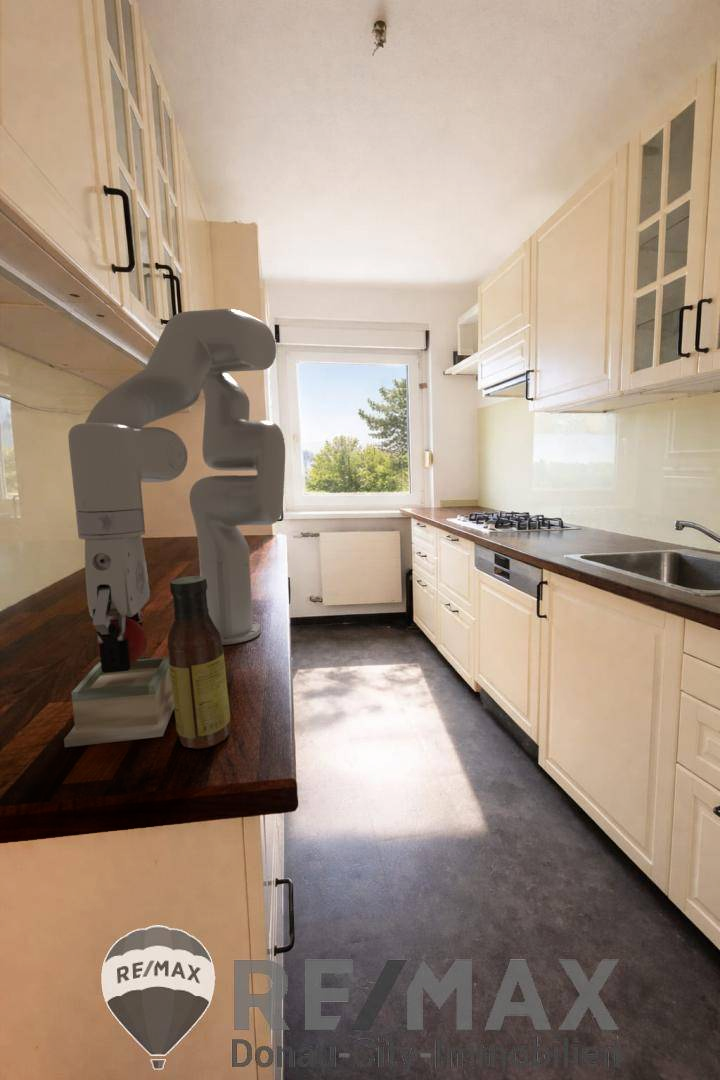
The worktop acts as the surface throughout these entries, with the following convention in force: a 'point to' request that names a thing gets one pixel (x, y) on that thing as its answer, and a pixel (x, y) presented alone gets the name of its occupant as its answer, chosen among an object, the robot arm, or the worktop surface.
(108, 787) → the worktop surface
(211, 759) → the worktop surface
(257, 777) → the worktop surface
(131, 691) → the open box
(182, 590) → the sauce bottle
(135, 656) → the onion
